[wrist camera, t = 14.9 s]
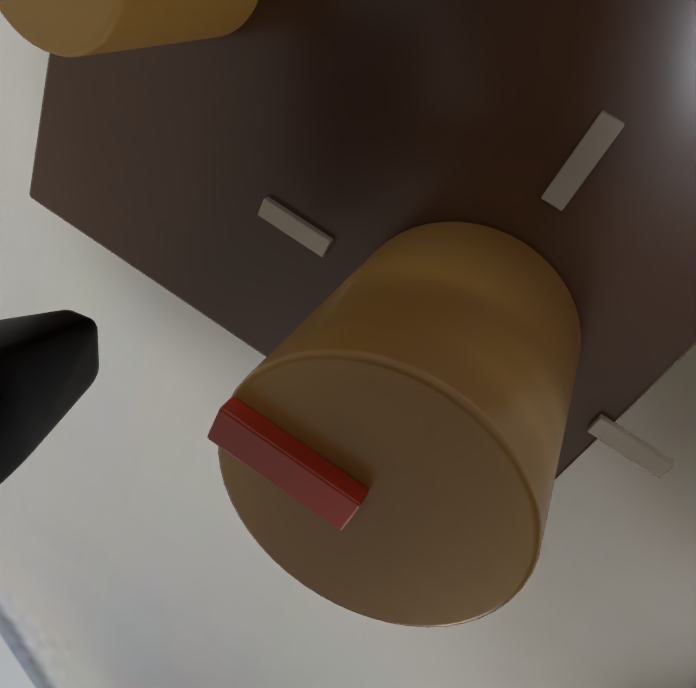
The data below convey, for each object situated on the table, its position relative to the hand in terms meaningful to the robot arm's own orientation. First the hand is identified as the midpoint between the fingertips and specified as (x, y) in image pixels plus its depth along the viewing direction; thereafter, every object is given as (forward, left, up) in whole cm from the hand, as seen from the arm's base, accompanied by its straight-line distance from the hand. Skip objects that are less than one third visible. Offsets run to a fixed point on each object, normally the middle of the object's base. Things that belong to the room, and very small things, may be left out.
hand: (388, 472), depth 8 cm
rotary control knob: (0, 0, -4) cm, 4 cm away
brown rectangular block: (+3, -2, -7) cm, 8 cm away
